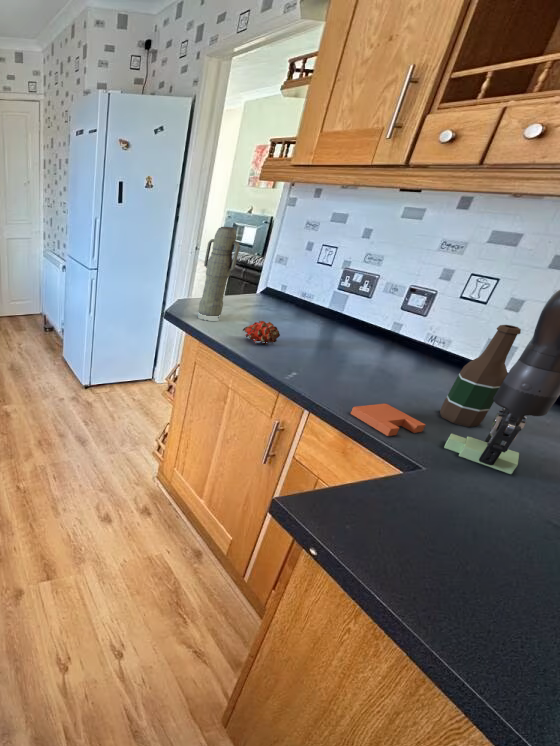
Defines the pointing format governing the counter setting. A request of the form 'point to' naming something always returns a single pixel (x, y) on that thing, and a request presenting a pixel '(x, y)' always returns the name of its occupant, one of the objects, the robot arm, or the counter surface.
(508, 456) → the sage pad
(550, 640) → the counter surface
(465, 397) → the beer bottle
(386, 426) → the orange pad
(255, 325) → the dragon fruit
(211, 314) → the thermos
